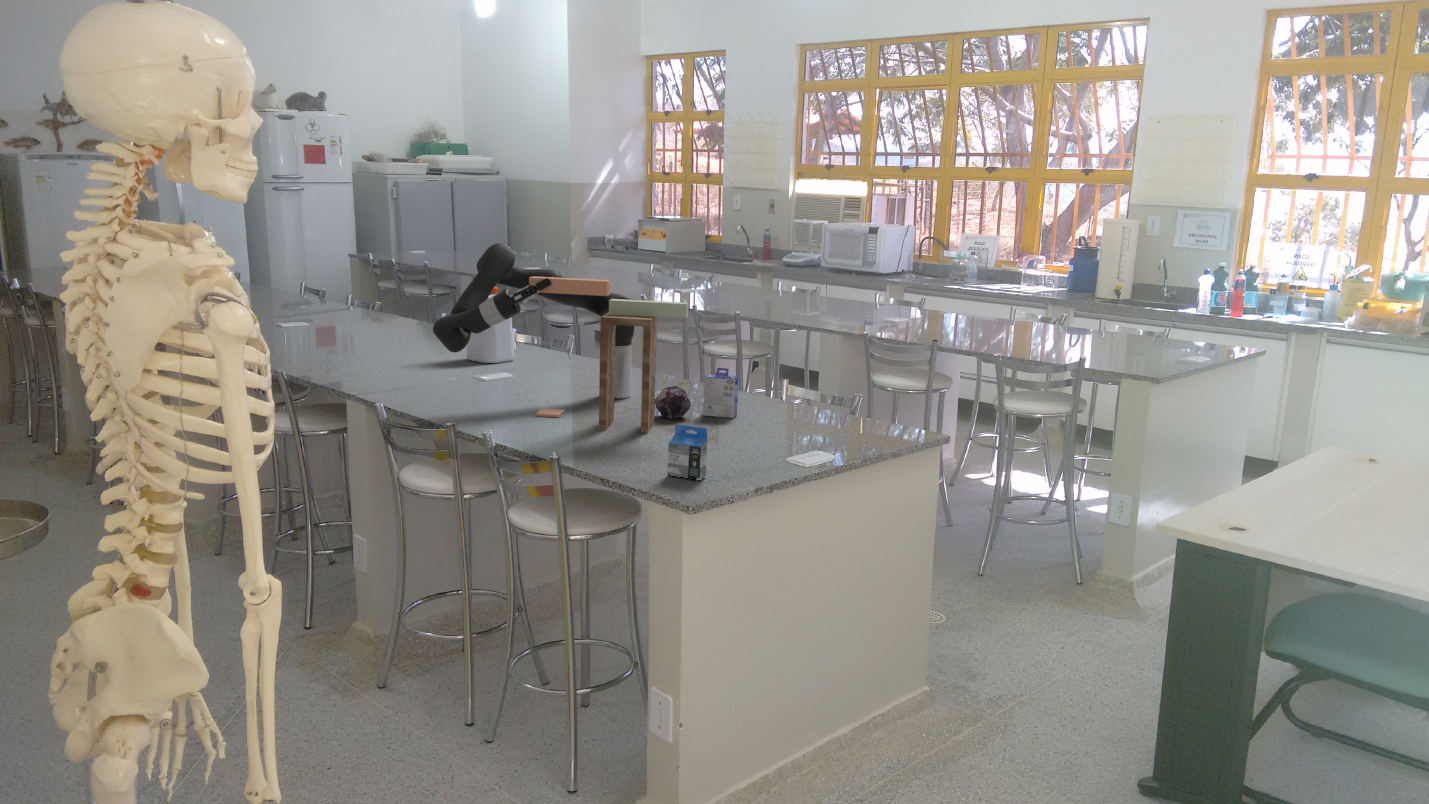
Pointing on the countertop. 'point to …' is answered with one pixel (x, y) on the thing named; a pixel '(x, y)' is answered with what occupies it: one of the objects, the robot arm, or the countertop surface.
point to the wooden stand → (608, 367)
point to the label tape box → (687, 452)
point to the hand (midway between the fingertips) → (551, 280)
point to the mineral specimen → (672, 402)
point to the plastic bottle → (492, 342)
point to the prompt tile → (549, 413)
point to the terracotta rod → (574, 286)
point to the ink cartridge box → (720, 395)
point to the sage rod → (648, 308)
